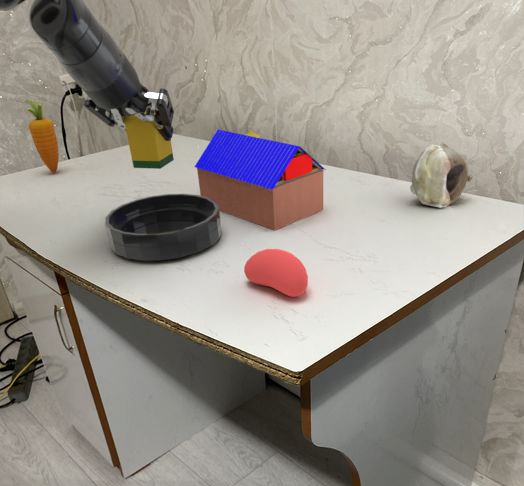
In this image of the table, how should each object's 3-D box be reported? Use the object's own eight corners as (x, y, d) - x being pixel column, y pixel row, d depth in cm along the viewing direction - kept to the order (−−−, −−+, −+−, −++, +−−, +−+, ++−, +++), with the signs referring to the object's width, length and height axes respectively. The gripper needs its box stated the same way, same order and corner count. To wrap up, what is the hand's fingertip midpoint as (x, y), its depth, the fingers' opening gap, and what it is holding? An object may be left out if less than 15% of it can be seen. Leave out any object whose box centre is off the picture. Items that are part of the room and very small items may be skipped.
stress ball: (284, 278, 74) (259, 241, 71) (325, 277, 66) (298, 236, 64) (259, 303, 72) (233, 266, 70) (298, 304, 65) (270, 263, 62)
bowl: (110, 271, 76) (103, 242, 73) (112, 228, 90) (106, 202, 87) (229, 254, 78) (226, 224, 76) (213, 214, 92) (210, 188, 90)
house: (248, 186, 103) (243, 122, 97) (326, 209, 91) (326, 137, 84) (199, 204, 97) (190, 136, 90) (274, 231, 84) (270, 155, 78)
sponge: (160, 168, 87) (151, 116, 82) (133, 168, 88) (123, 116, 84) (173, 160, 91) (166, 109, 86) (147, 159, 92) (138, 109, 88)
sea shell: (412, 219, 91) (396, 165, 86) (423, 195, 96) (409, 142, 91) (470, 209, 86) (457, 150, 80) (478, 184, 91) (466, 127, 86)
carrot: (66, 174, 119) (47, 100, 110) (43, 177, 117) (21, 103, 109) (64, 168, 123) (45, 97, 114) (42, 172, 121) (21, 100, 113)
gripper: (150, 37, 71) (198, 115, 87) (59, 42, 75) (121, 115, 91) (138, 89, 70) (189, 157, 86) (47, 90, 74) (112, 155, 90)
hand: (154, 135), depth 89 cm, fingers closed on sponge, 5 cm apart
